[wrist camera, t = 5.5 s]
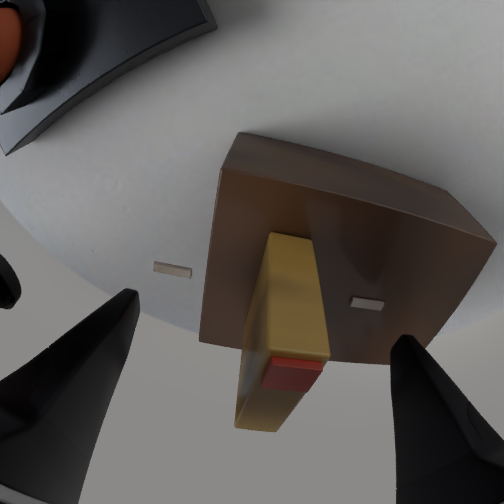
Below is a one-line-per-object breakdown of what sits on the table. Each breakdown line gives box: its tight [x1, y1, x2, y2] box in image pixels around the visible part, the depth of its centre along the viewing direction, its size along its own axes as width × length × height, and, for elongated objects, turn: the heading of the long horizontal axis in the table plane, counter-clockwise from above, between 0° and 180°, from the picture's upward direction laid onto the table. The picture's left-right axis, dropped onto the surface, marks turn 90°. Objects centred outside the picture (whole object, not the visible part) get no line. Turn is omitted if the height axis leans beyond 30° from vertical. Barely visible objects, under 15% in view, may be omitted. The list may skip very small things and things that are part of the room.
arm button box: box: [0, 0, 218, 156], centre depth 7 cm, size 12×9×4 cm
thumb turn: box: [234, 232, 330, 432], centre depth 9 cm, size 5×1×5 cm, turn 169°
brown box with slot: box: [153, 132, 497, 365], centre depth 13 cm, size 13×8×5 cm, turn 79°
